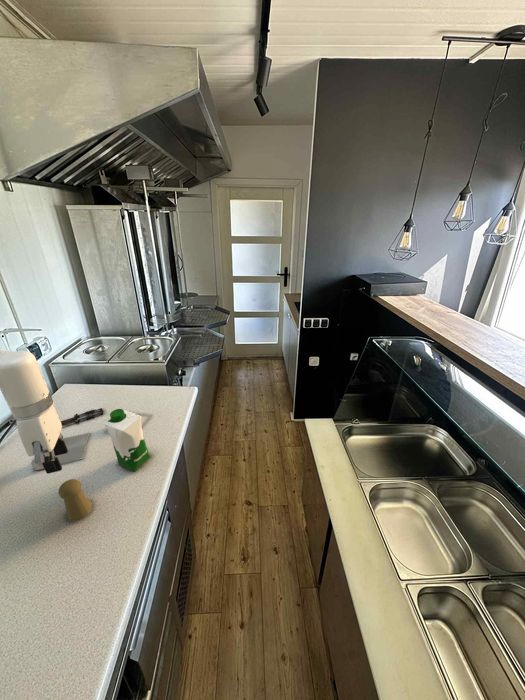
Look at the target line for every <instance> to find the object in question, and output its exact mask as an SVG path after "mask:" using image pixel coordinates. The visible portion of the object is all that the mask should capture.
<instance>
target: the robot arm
mask: <svg viewBox="0 0 525 700" xmlns="http://www.w3.org/2000/svg"><path fill="white" fill-rule="evenodd" d="M0 392H1V394H2V396H3V398H4V400H5V402H6V403H7V406H8V408H9V410H10V412H11V415H12V416H13V418H14V419H15V424H16V428H17V432H18V435H19V438H20V441H21V443H22V446H23V448H24V450H25V453H26V455H27V456H28V457H32V456H34V457H33V458H34V459H35V464H39V463H40V464H42V465H43V467H44V471H45V473H46V474H47V475H49V474H53V473H57V472H60V471H63V470H62V469H63V467H62V464H60V462H59V459H58V457H55V456H57V455H62V454H66V453H67V452H68V449H67V447H66V445H65V442H64V440H63V439H64V435H63V434H62V428H63V427H62V424H61V421H62V420H61V419H60V416H59V414H58V412H57V409H56V408H55V406H54V405H55V402H54V399H53V397H52V395H51V392H50V390H49V388H48V386H47V383H46V380H45V378H44V375H43V372H42V371H41V368H40V365H39V362H38V361H37V357H36V356H35V355H34V353H32V352H30V351H27V350H15V351H12V350H9V349H6V348H5V349H4V348H0ZM61 440H62V441H61ZM43 448H44V449H43ZM46 452H49V454H50V456H45V457H44V456H43V453H46ZM34 459H33V460H34Z"/></svg>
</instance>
